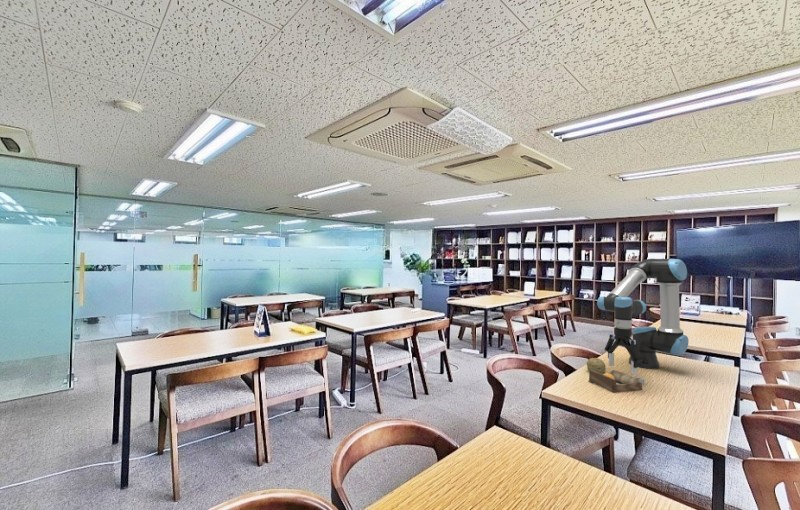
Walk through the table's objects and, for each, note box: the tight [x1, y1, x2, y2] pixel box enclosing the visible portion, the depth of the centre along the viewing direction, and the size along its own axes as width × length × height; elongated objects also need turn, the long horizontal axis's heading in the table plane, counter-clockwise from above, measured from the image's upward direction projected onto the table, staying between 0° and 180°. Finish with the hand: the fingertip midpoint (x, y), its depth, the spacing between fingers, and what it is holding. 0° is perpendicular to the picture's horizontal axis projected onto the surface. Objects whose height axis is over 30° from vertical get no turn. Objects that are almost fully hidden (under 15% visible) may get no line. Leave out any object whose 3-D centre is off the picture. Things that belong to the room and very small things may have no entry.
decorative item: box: [586, 357, 607, 374], centre depth 195 cm, size 10×10×10 cm
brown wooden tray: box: [588, 369, 643, 394], centre depth 175 cm, size 17×15×6 cm
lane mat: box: [588, 380, 640, 393], centre depth 175 cm, size 17×15×1 cm
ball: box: [603, 372, 615, 379], centre depth 174 cm, size 6×6×6 cm
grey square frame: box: [633, 376, 645, 385], centre depth 179 cm, size 4×4×2 cm
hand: (622, 369), depth 176 cm, fingers open, 12 cm apart
